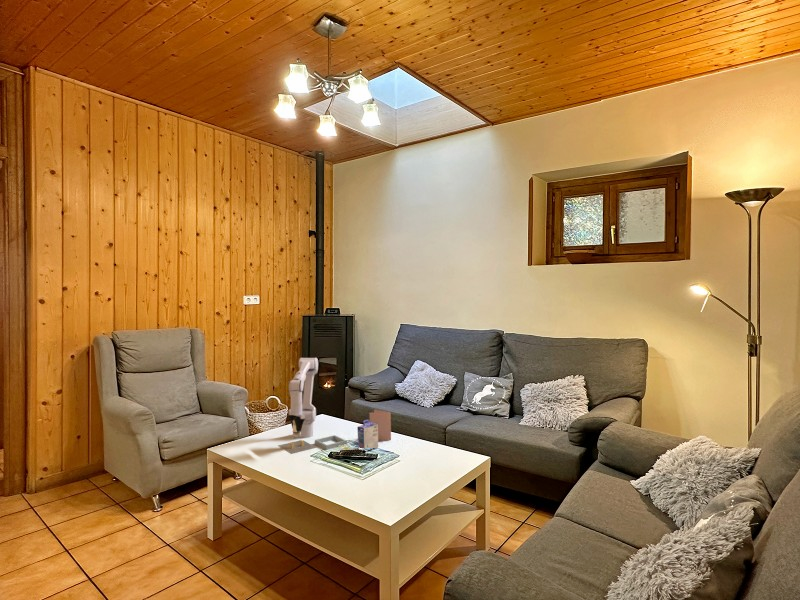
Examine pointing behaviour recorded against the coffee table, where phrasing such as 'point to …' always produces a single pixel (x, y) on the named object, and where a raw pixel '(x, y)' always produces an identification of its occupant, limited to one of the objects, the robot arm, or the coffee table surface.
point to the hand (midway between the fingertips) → (296, 430)
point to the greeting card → (382, 423)
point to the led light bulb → (295, 431)
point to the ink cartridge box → (368, 435)
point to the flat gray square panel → (297, 446)
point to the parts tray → (334, 437)
